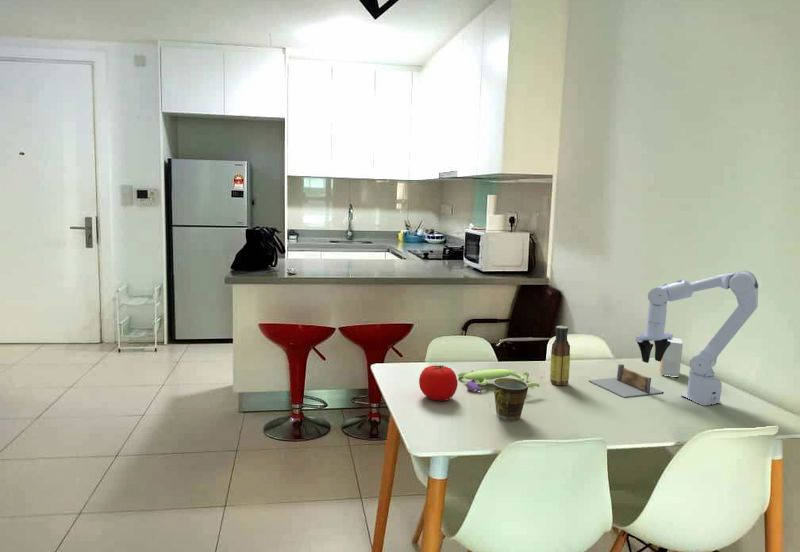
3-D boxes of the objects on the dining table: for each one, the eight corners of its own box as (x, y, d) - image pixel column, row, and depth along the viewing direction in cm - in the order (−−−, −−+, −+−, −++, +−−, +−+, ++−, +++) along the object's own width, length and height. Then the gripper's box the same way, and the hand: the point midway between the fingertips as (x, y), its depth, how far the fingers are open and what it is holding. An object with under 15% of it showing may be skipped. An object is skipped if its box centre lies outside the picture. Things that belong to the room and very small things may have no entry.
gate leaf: (621, 380, 216) (622, 368, 215) (624, 380, 216) (625, 368, 216) (644, 390, 206) (646, 378, 205) (647, 390, 206) (649, 377, 206)
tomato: (464, 401, 190) (466, 368, 189) (432, 407, 184) (434, 373, 183) (441, 389, 200) (443, 358, 199) (411, 395, 194) (412, 362, 193)
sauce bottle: (566, 381, 215) (571, 325, 212) (569, 387, 209) (575, 329, 206) (547, 379, 216) (552, 324, 213) (550, 385, 209) (554, 328, 206)
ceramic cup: (501, 407, 187) (504, 375, 185) (531, 416, 181) (534, 383, 179) (478, 419, 177) (481, 385, 175) (509, 429, 171) (512, 394, 169)
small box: (659, 370, 234) (663, 336, 232) (677, 372, 232) (681, 338, 230) (660, 376, 226) (664, 341, 224) (679, 378, 224) (683, 343, 222)
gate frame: (588, 381, 216) (590, 364, 215) (626, 377, 223) (628, 361, 222) (623, 397, 201) (625, 379, 200) (663, 393, 207) (665, 375, 206)
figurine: (539, 400, 195) (540, 383, 194) (454, 392, 200) (455, 375, 199) (536, 382, 213) (537, 366, 212) (458, 375, 218) (459, 359, 217)
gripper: (663, 318, 215) (658, 356, 217) (630, 320, 209) (626, 359, 211) (679, 323, 208) (674, 362, 210) (646, 325, 203) (641, 365, 205)
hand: (651, 361), depth 210 cm, fingers open, 5 cm apart
